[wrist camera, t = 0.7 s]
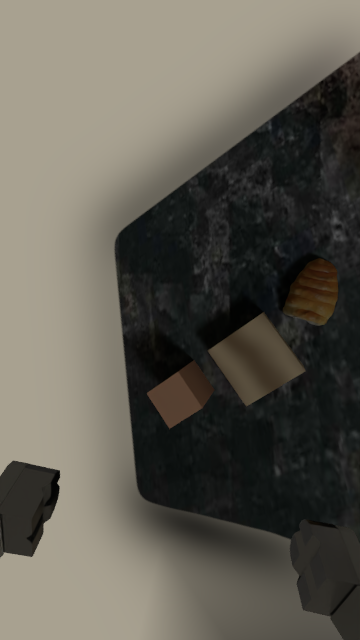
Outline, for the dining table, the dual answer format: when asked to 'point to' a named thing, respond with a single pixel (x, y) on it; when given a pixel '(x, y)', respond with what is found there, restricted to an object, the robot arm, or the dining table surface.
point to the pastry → (313, 293)
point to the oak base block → (256, 359)
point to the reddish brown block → (181, 394)
